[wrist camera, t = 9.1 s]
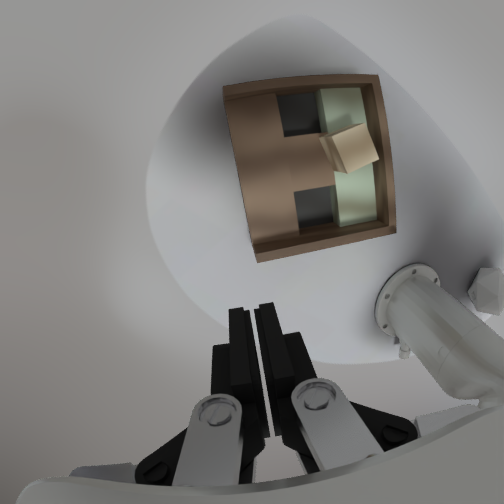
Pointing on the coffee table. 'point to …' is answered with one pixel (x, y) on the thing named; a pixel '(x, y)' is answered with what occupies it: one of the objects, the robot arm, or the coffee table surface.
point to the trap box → (309, 162)
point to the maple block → (349, 148)
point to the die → (488, 291)
